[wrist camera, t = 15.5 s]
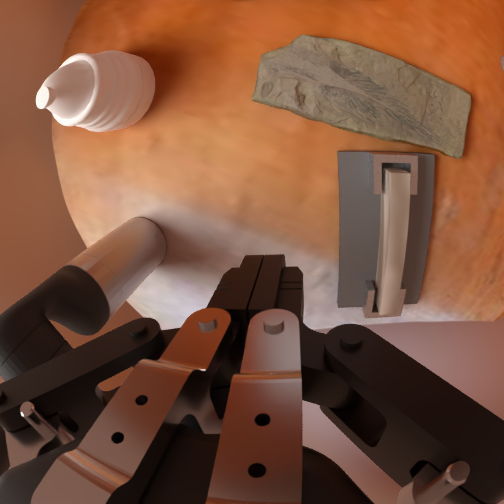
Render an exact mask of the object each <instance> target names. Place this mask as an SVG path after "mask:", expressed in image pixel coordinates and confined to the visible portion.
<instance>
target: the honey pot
mask: <svg viewBox="0 0 504 504" xmlns="http://www.w3.org/2000/svg"><path fill="white" fill-rule="evenodd" d="M154 93H155V77H154V72H153V70H152V68H151V66H150V65H149V63H148V62H147V61H146V60H144V59H143V58H142V57H139V56H136V55H133V54H130V53H126V52H122V51H118V50H108V51H104V52H101V53H97V54H88V53H78V54H76V55H73V56H71V57H70V58H68V59H67V60H66V61H65V62H64V63H63V64H62V65H61V66H60V67H59V69H58V70H56V71H55V72H54V73H53V74H51V75H50V76H49V77H48V78H47V79H46V80H45V81H44V83H43V85H42V87H41V88H40V90H39V91H38V93H37V96H36V105H37V107H38V108H39V109H43V108H47V109H48V110H49V111H51V112H52V114H53V116H54V118H55V119H56V120H57V121H58V122H59V123H60V124H62V125H64V126H75V125H76V126H78V127H82V128H86V129H87V130H89V131H95V132H104V131H111V130H118V129H125V128H128V127H130V126H132V125H134V124H135V123H137V122H138V121H139V120H140V119H141V118H142V117H143V116H144V115H145V113H146V112H147V111H148V109H149V107H150V105H151V103H152V101H153V97H154Z"/></svg>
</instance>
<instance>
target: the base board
mask: <svg viewBox="0 0 504 504" xmlns="http://www.w3.org/2000/svg"><path fill="white" fill-rule="evenodd" d="M368 152H395V151H337V156H338V176H339V211H340V245H339V281H338V301H337V303H338V308H343V307H362V304H363V295H364V285H365V280H371V281H372V284H373V287H374V290H375V282H376V272H377V262H378V249H379V234H380V211H381V194H373V193H372V191H371V190H370V189H369V159H368ZM395 153H411V154H414V155H417V156H418V183H417V195H412V194H410V207H409V222H408V234H407V244H406V253H405V261H404V268H403V275H402V282H403V284H404V286H405V288H406V293H405V298H404V303H403V304H416V303H418V300H419V295H420V290H421V286H422V280H423V275H424V270H425V264H426V258H427V251H428V244H429V237H430V229H431V219H432V208H433V194H434V171H435V155H434V154H430V153H416V152H395ZM382 167H399V168H401V169H403V163H382ZM374 301H375V298H374Z"/></svg>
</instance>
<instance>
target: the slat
mask: <svg viewBox="0 0 504 504" xmlns="http://www.w3.org/2000/svg"><path fill="white" fill-rule="evenodd" d="M410 180H411V173H409V172H407V171H405V170H403V169H401V168H399V167H382V194H381V211H380V234H379V249H378V262H377V272H376V282H375V293H374V298H375V301H376V304H377V308H378V311H379V314H380V315H388V314H396V310H397V304H398V299H399V293H400V288H401V281H402V275H403V268H404V261H405V253H406V244H407V234H408V222H409V207H410Z"/></svg>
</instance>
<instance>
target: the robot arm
mask: <svg viewBox="0 0 504 504" xmlns="http://www.w3.org/2000/svg"><path fill="white" fill-rule="evenodd" d="M166 249H167V246H166V240H165V237H164V235H163V233H162V231H161V230H160V229H159V227H158V226H157V225H156V224H154V223H153V222H152V221H150V220H148V219H146V218H141V217H137V218H133V219H130V220H129V221H127V222H126V223H124V224H123V225H121V226H120V227H118V228H117V229H115V230H114V231H112V232H111V233H109V234H108V235H106V236H105V237H103V238H102V239H100V240H99V241H98V242H96V243H95V244H93V245H92V246H90V247H89V248H88V249H87V250H85V251H84V252H82V253H81V254H79V255H78V256H77V257H75V258H74V259H73V260H72V261H70V262H69V263H68V264H66V265H65V266H63V267H62V268H61V269H60V270H58V271H57V272H56V273H55V274H53V275H52V276H51V277H49V278H48V279H47V280H45V281H44V282H43V283H42V284H40V285H39V286H38V287H36V288H35V289H34V290H32V291H31V292H30V293H28V294H27V295H26V296H24V297H23V298H22V299H20V300H19V301H17V302H16V303H15V304H13V305H12V306H11V307H9V308H8V309H7V310H6V311H4V312H3V313H2V314H1V315H0V376H1V377H2V378H3V379H4V380H5V382H3V383H1V384H0V504H374V503H373V502H372V501H371V500H370V499H369V498H368V497H367V496H366V495H365V493H363V491H362V490H361V489H360V488H359V487H358V486H357V485H356V484H355V483H354V482H353V481H352V479H351V478H350V477H349V476H348V475H347V474H346V473H345V472H344V471H343V470H342V469H341V468H340V467H339V466H338V465H337V464H336V463H335V462H334V461H332V460H331V459H329V458H328V457H326V456H325V455H323V454H321V453H319V452H317V451H315V450H313V449H310V448H308V447H305V446H302V400H304V401H308V402H311V403H314V404H318V405H320V409H321V410H322V412H323V413H324V414H325V415H326V416H327V417H328V418H329V419H330V420H331V421H332V422H333V423H334V424H335V425H336V426H337V427H338V428H339V429H340V430H341V431H342V432H343V433H344V434H345V435H346V436H347V437H348V438H349V439H350V440H351V441H352V442H353V443H354V444H355V445H356V446H357V447H358V448H359V449H361V450H362V451H363V452H364V453H365V454H366V455H367V456H368V457H369V458H370V459H371V460H372V461H373V462H374V463H375V464H376V465H378V466H379V467H380V468H381V469H382V470H383V471H384V472H385V473H386V474H387V475H389V476H390V477H391V478H392V479H393V480H394V481H395V482H396V483H398V484H399V485H400V486H401V487H402V489H401V491H400V493H399V495H398V498H397V504H498V503H499V502H500V501H502V500H503V499H504V421H503V420H502V419H501V418H499V417H498V416H496V415H495V414H493V413H492V412H490V411H489V410H487V409H486V408H484V407H483V406H482V405H480V404H479V403H477V402H476V401H474V400H473V399H471V398H470V397H468V396H467V395H465V394H464V393H462V392H461V391H460V390H458V389H457V388H455V387H454V386H452V385H450V384H449V383H448V382H446V381H445V380H443V379H442V378H440V377H439V376H437V375H436V374H435V373H433V372H432V371H430V370H429V369H427V368H426V367H424V366H423V365H421V364H420V363H418V362H417V361H416V360H414V359H413V358H411V357H409V356H408V355H407V354H405V353H404V352H402V351H400V350H399V349H398V348H396V347H395V346H393V345H392V344H390V343H389V342H388V341H386V340H385V339H383V338H382V337H380V336H379V335H377V334H376V333H374V332H373V331H371V330H370V329H368V328H366V327H364V326H361V325H357V324H344V325H340V326H337V327H335V328H333V329H331V330H330V331H329V332H328V333H327V334H324V333H319V332H316V331H314V330H311V329H310V328H308V327H307V326H306V325H305V324H304V323H303V311H304V297H303V273H302V272H301V270H300V269H299V268H298V267H285V256H284V254H279V255H265V256H264V255H245V257H244V259H243V261H242V263H241V266H240V268H231V269H230V270H229V271H228V272H226V273H225V274H224V275H223V277H222V279H221V281H220V284H218V286H217V288H216V290H215V292H214V294H213V296H212V298H211V300H210V302H209V304H208V306H207V307H206V308H205V309H201V310H199V311H196V312H194V313H193V314H191V315H190V316H189V317H188V318H187V319H186V321H185V322H184V324H183V325H182V327H181V328H176V329H169V330H162V331H161V328H160V325H159V323H158V322H157V321H156V320H155V319H152V318H139V319H135V320H133V321H131V322H128V323H126V324H124V325H122V326H120V327H118V328H116V329H115V330H112V331H110V332H108V333H106V334H104V335H102V336H100V337H98V338H96V339H93V340H91V341H89V342H87V343H85V344H83V345H81V346H79V347H77V348H75V349H73V348H72V347H71V346H70V345H69V343H68V342H67V341H66V340H64V338H63V336H62V335H61V334H60V333H59V332H58V331H57V330H56V328H55V327H54V326H53V325H52V324H51V322H50V321H49V320H48V319H50V320H52V321H56V322H58V323H60V324H62V325H63V326H65V327H67V328H68V329H70V330H72V331H74V332H76V333H78V334H81V335H87V336H88V335H93V334H95V333H97V332H98V331H99V330H101V328H102V327H103V326H104V325H105V324H106V322H107V321H108V320H109V319H110V318H111V317H112V316H113V314H114V313H115V312H116V311H117V310H118V309H119V307H120V306H121V305H122V304H123V303H124V302H125V301H126V300H127V299H128V297H129V296H130V295H131V294H132V293H133V292H134V291H135V290H136V289H137V287H138V286H139V285H140V284H141V283H142V282H143V281H144V280H145V279H146V278H147V277H148V275H149V274H150V273H151V272H152V271H153V270H154V269H155V268H156V267H157V266H158V265H159V264H160V263H161V262H162V260H163V259H164V257H165V255H166ZM131 366H132V367H133V370H132V371H131V373H130V374H129V375H128V377H127V378H126V380H125V381H124V382H123V384H122V385H121V386H119V387H117V388H115V389H113V390H111V391H102V390H100V389H99V387H98V386H97V385H98V384H99V383H100V382H102V381H104V380H106V379H108V378H110V377H112V376H114V375H116V374H118V373H120V372H122V371H124V370H126V369H128V368H130V367H131ZM9 467H11V469H9ZM8 469H9V470H8Z"/></svg>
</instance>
